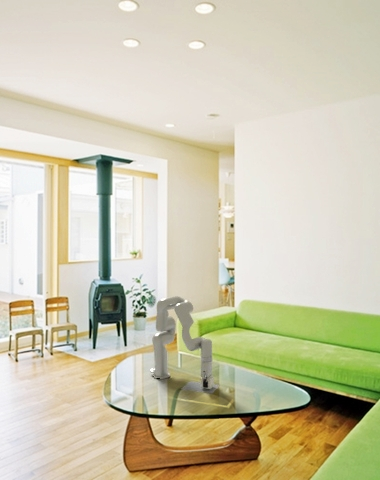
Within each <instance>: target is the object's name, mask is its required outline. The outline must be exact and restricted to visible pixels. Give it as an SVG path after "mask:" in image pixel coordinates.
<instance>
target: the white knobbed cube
mask: <svg viewBox="0 0 380 480" xmlns="http://www.w3.org/2000/svg"><path fill="white" fill-rule="evenodd" d="M205 377H206V376H205ZM205 379H206V378H205ZM214 379H215V376H213V375H212V376H209V377H208V378H207V382H208V388H206V389H211V388H212V387H213V386H214V384H215V382H214V381H215V380H214ZM200 382H201V388H204V387H203V380H202V377H200Z"/></svg>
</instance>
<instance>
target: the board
mask: <svg viewBox="0 0 380 480" xmlns="http://www.w3.org/2000/svg"><path fill="white" fill-rule="evenodd" d="M220 386H221V385H220V384H215V383H214V386H213V387H212V388H211V389H206V388H201V381H200V382H199V381H193V380H190V381H188V382H187V383H186V384H185V385H183V387H182V388H181V390H183V391H190V392H197V393H203V394H210V395H211V394H214V392H215V391H216V390H217V389H218V388H219V387H220Z"/></svg>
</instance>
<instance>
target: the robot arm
mask: <svg viewBox="0 0 380 480" xmlns="http://www.w3.org/2000/svg"><path fill="white" fill-rule="evenodd" d="M169 310H174V312H175V315H176V316H177V319H178V320H179V323H180V324H181V326H182V328H181V338H182V341H183V344H184V346H185V348H186V349H187V350H188V351H190V352H195V351H197V350H200V362H201V364H200V378H202V380H203V387H204V388H208V382H207V378H208V377H209V376H213V342H212V340H211V339H209V338H204V337H202V336H197V337H194V338H192V337H191V333H190V331H191V330H190V329H191V327H192V326H193V325H194V323H195V322H194V320H193V317H192V315H191V313H192V312H193V311H194V305H193V303H192V302H190V301H189V300H187V299H186V298H183V297H181V296H177V295H175V296H169V297H165V298H162V299H159V300H158V301H157V302H156V317H155V330H156V332H158V333H155V334H154V335H152V345H153V357H154V368H150V373H152V377H153V376H154V377H155V378H154V377H153V378H154V379H156V378H160V379H159V380H163V379H168V378H169V377H170V376H171V373H170V372H169V368H168V367H169V366H168V361H169V360H168V350H167V347H166V345H169V344H172V343H173V342H174V340H175V337H176V326H177V325H176V324H177V323H176V320H175V318H174V317H172V316H169ZM205 376H206V377H205ZM205 378H206V379H205Z"/></svg>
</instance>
